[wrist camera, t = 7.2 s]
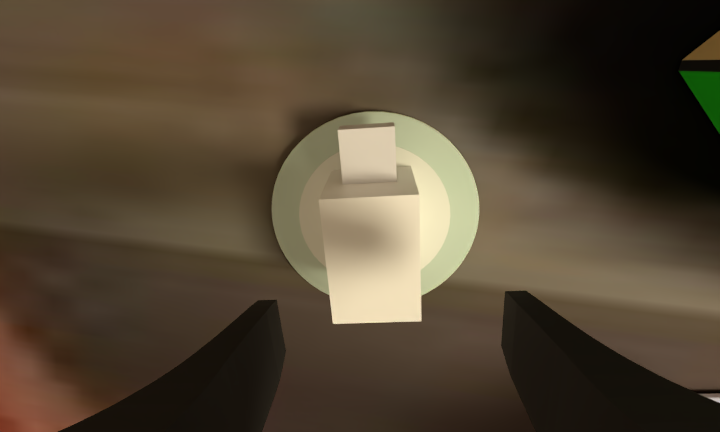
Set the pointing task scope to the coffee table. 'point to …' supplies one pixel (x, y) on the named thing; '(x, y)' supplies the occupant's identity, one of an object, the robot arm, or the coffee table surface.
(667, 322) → the coffee table surface
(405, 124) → the coaster
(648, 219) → the coffee table surface
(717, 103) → the puzzle cube
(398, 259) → the connector
